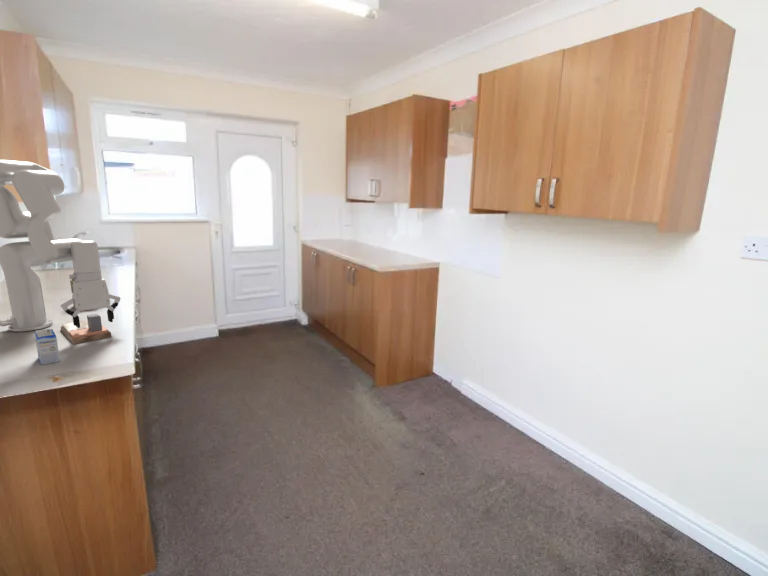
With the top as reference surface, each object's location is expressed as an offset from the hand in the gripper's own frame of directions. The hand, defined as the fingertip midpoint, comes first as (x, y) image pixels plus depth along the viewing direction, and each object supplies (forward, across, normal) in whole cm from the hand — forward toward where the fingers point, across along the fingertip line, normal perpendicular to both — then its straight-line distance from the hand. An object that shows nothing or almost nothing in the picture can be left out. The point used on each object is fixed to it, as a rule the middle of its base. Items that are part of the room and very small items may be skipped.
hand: (94, 324), depth 146 cm
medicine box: (+5, -16, -16) cm, 22 cm away
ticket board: (+4, -2, +5) cm, 7 cm away
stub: (+3, -2, 0) cm, 3 cm away
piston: (+5, +8, +50) cm, 51 cm away
